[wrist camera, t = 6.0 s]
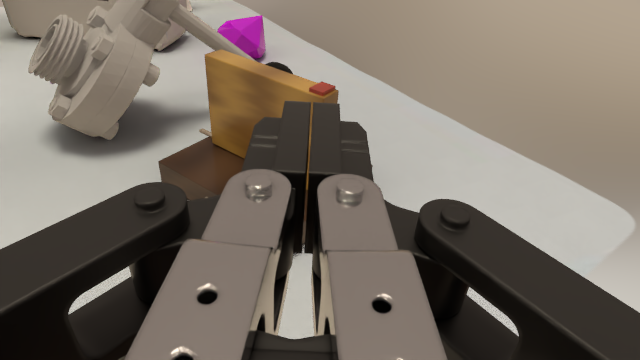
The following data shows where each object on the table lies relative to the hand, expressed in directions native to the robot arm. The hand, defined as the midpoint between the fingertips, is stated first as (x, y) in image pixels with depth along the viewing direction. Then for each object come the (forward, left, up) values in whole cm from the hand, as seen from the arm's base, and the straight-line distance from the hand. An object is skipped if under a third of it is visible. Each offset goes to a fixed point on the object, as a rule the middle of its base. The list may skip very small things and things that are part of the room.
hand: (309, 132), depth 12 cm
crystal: (+18, +40, -14) cm, 46 cm away
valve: (+6, +29, -14) cm, 33 cm away
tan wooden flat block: (+7, +15, -12) cm, 20 cm away
